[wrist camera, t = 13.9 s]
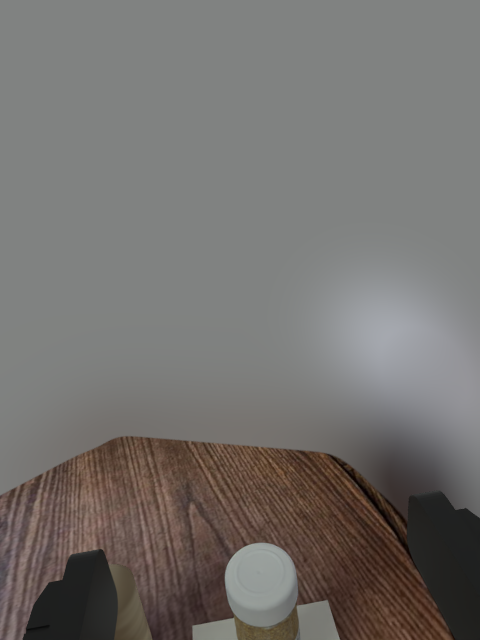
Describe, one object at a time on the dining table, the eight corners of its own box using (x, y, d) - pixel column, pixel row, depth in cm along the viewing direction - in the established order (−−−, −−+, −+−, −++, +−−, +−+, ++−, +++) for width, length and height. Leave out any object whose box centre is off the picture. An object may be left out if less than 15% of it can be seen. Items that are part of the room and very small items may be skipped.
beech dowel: (106, 703, 35) (73, 621, 31) (113, 648, 38) (84, 569, 34) (157, 692, 35) (130, 610, 31) (159, 639, 39) (136, 560, 35)
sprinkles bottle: (237, 675, 35) (214, 554, 29) (290, 650, 36) (278, 529, 30) (259, 744, 30) (237, 619, 25) (318, 713, 32) (309, 588, 26)
